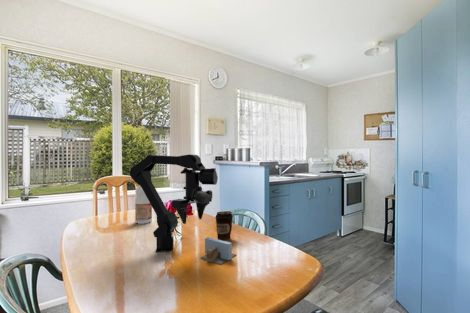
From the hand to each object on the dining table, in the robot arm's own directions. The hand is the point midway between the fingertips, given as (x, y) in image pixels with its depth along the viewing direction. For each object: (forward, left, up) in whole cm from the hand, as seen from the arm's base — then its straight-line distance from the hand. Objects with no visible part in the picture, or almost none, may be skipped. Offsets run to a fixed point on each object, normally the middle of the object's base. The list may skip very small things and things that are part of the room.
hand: (192, 221), depth 103 cm
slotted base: (+10, -8, -12) cm, 18 cm away
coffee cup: (+15, +12, -13) cm, 23 cm away
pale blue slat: (+10, -8, -12) cm, 17 cm away
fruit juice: (-29, +52, -13) cm, 61 cm away
